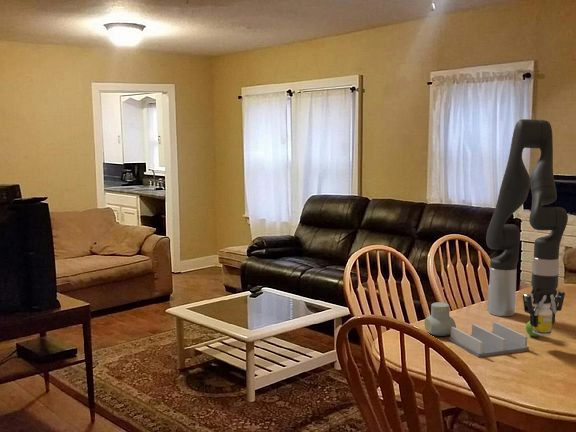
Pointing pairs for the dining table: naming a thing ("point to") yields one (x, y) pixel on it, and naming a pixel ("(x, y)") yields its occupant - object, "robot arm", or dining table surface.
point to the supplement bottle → (544, 321)
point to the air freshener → (439, 320)
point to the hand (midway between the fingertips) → (542, 325)
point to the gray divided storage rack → (489, 340)
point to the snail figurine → (530, 329)
